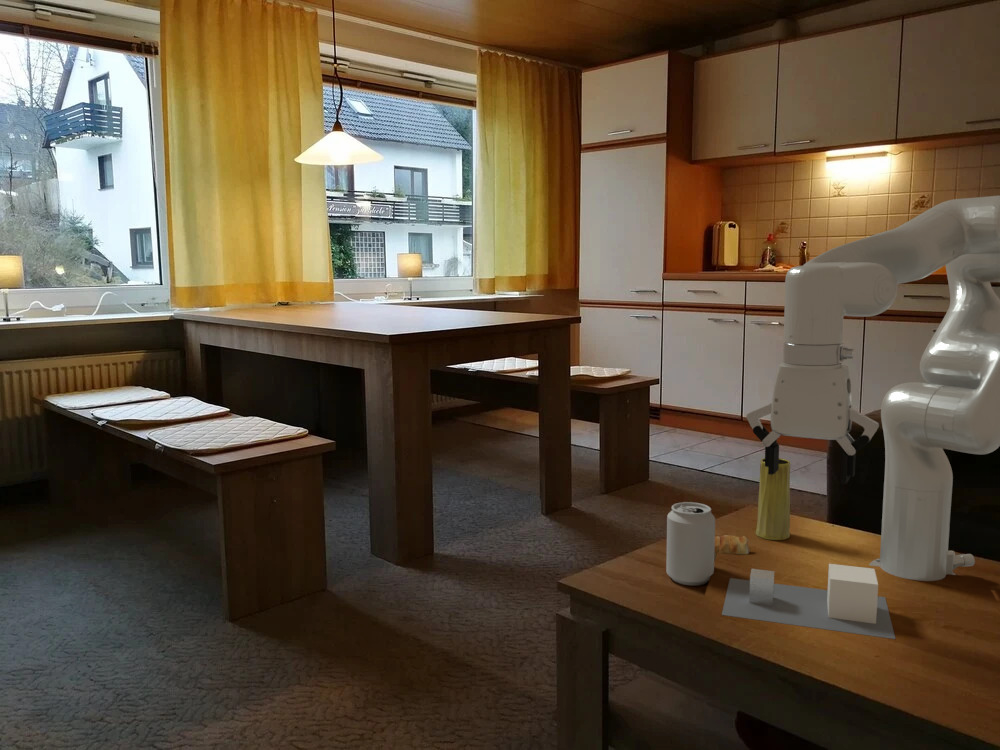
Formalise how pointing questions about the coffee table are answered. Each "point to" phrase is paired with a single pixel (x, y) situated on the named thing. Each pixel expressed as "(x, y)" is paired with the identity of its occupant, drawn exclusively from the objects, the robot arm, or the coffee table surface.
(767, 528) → the vase
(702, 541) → the can
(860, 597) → the cream foam cube
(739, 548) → the pastry
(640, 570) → the coffee table surface
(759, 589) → the small white block
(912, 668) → the coffee table surface
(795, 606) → the board
